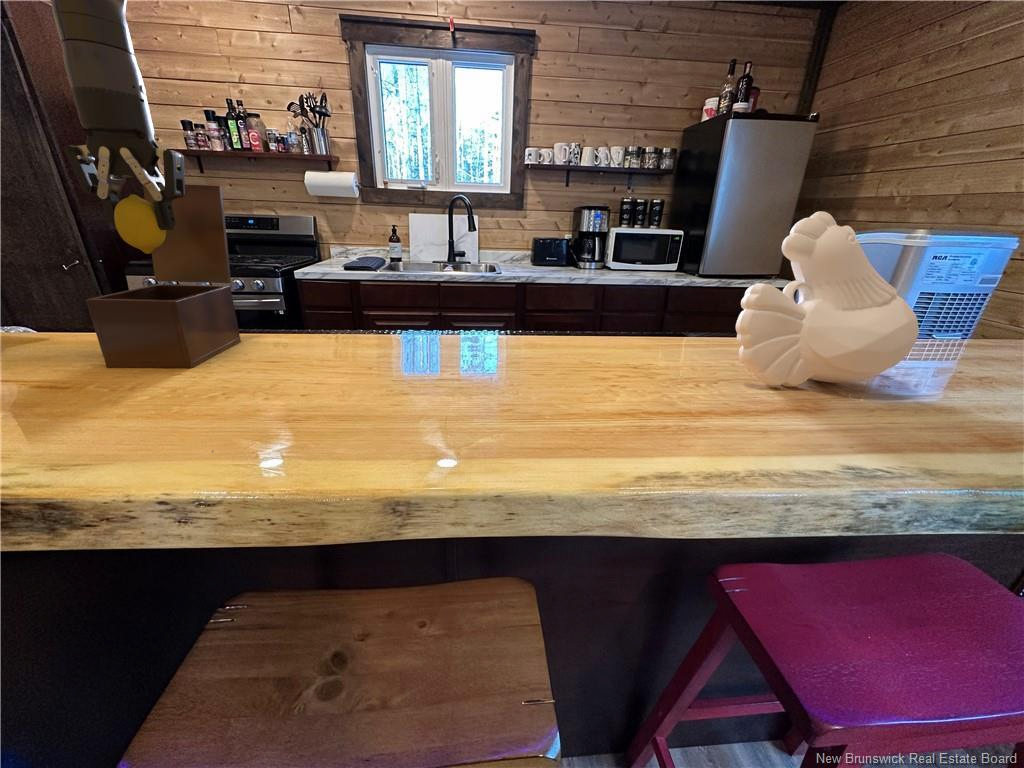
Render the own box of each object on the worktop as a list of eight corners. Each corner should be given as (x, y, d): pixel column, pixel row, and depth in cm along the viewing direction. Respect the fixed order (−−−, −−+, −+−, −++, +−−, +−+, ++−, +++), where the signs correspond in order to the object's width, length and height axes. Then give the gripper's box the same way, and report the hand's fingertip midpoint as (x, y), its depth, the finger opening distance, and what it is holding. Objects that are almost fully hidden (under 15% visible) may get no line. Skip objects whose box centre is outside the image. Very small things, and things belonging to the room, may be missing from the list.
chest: (191, 368, 64) (175, 301, 60) (106, 367, 63) (85, 299, 59) (241, 341, 77) (230, 285, 74) (171, 340, 76) (157, 284, 73)
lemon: (130, 256, 60) (113, 193, 57) (118, 253, 63) (102, 193, 60) (177, 254, 64) (164, 195, 61) (164, 251, 67) (151, 195, 64)
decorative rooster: (872, 330, 75) (802, 206, 71) (965, 336, 59) (882, 178, 56) (745, 411, 78) (672, 296, 74) (803, 438, 62) (714, 293, 59)
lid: (219, 185, 70) (222, 187, 71) (142, 182, 69) (146, 183, 70) (228, 283, 73) (231, 283, 74) (155, 281, 72) (158, 281, 73)
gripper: (22, 79, 53) (67, 227, 59) (148, 87, 54) (180, 231, 60) (74, 96, 60) (110, 226, 66) (186, 102, 61) (211, 230, 67)
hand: (144, 228), depth 63 cm, fingers closed on lemon, 5 cm apart
